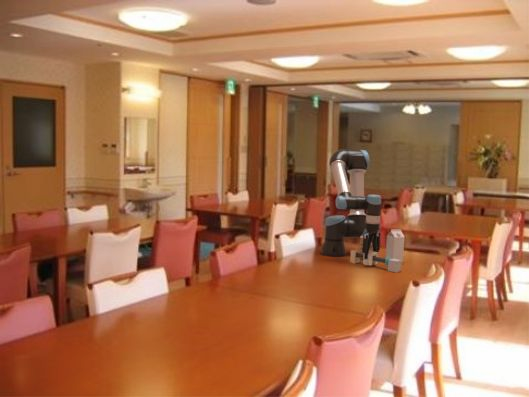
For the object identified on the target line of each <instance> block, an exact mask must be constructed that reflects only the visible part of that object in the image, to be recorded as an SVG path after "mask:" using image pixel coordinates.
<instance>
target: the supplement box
mask: <svg viewBox="0 0 529 397" xmlns="http://www.w3.org/2000/svg"><path fill="white" fill-rule="evenodd" d="M368 240H369V239H368ZM358 246H359V248H358V250H360V254H364V253H363V252H362V246H363V236H361V237H360V238H359V245H358ZM369 251H373V247H372V242H371V245H370V249H369ZM360 260H363V258H360Z"/></svg>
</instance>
